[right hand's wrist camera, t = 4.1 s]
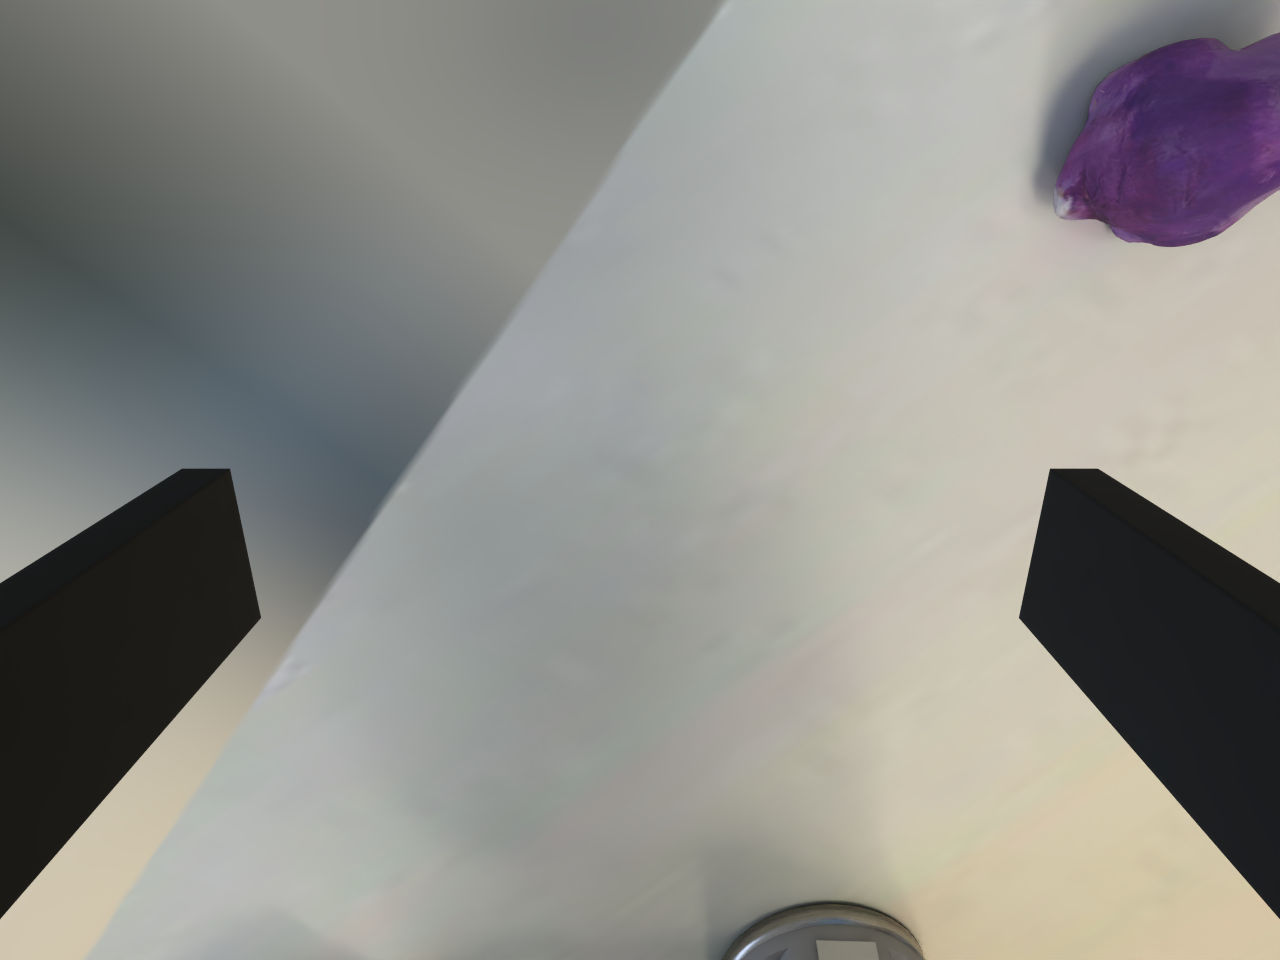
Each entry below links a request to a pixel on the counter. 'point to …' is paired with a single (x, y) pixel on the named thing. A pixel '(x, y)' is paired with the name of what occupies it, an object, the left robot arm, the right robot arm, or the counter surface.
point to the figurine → (1178, 143)
